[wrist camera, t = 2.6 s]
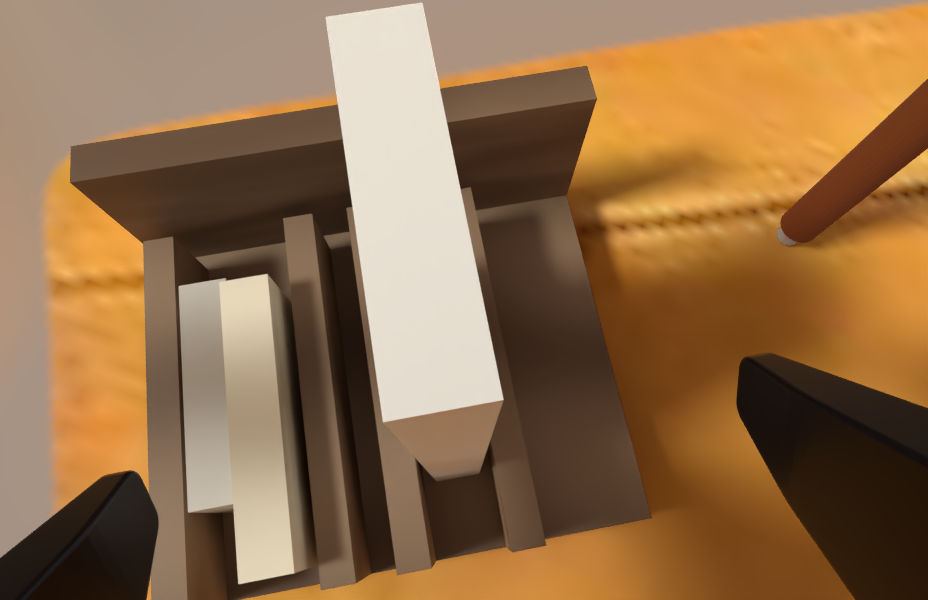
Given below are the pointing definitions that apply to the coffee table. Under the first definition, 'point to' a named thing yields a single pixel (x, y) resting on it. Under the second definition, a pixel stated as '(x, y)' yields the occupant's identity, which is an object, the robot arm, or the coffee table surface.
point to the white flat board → (414, 242)
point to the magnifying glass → (860, 170)
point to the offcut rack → (356, 349)
